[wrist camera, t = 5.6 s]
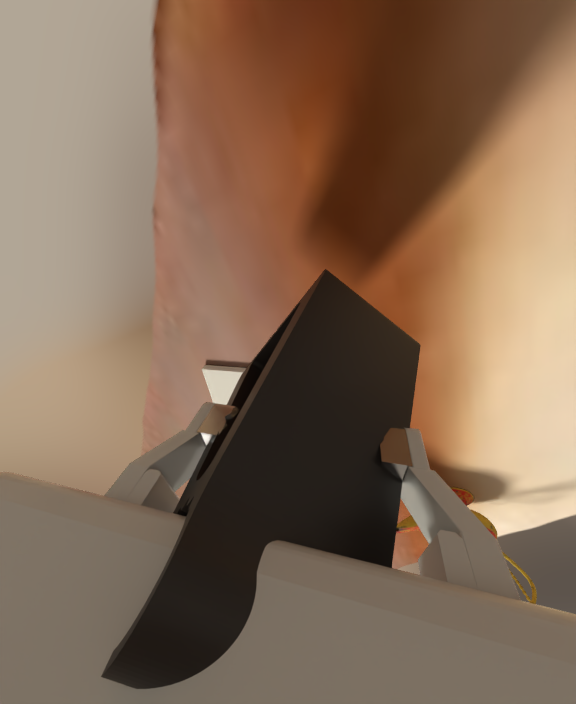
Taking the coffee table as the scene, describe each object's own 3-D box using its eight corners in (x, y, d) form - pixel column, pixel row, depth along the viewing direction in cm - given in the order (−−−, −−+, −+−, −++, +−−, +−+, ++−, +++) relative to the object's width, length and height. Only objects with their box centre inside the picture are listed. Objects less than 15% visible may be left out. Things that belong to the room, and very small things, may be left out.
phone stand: (327, 266, 11) (156, 792, 2) (419, 341, 12) (642, 918, 3) (241, 373, 16) (82, 642, 7) (311, 418, 17) (257, 706, 8)
